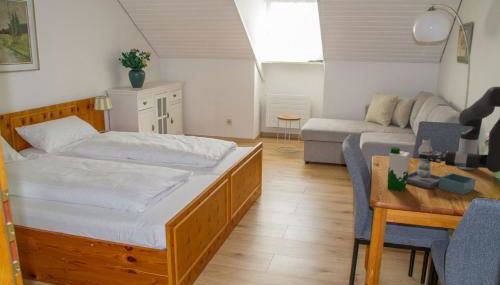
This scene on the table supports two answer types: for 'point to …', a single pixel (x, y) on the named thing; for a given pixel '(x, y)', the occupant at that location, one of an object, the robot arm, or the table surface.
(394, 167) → the milk carton
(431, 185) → the tray
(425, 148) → the plastic bottle
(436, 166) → the table surface
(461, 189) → the teal open box
